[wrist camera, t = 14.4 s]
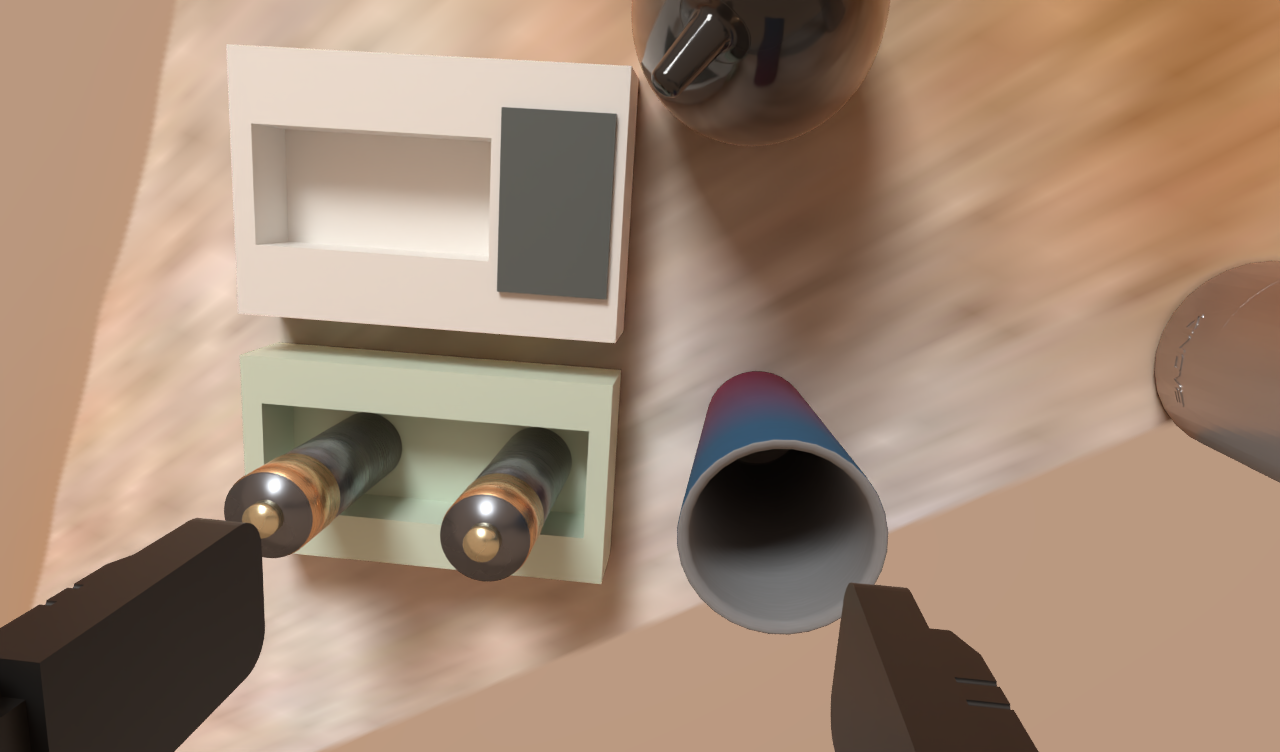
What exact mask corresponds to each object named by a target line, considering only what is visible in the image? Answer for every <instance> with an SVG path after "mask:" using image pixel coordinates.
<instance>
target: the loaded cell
mask: <svg viewBox="0 0 1280 752" xmlns="http://www.w3.org/2000/svg"><path fill="white" fill-rule="evenodd" d="M571 467H572V458H571V453H570V450H569V448H568V446H567V444H566V443H565V441H564V440H563V439H562V438H561V437H560V436H559V435H558V434H556V433H555V432H553V431H551V430H549V429H545V428H541V427H530V428H526V429H523V430H521V431H519V432H517V433H516V434H514V435H513V436H512V437H511V438H510V439H509V441H508V442H507V443H506V444H505V445H504V447H503V448H502V449H501V450H500V451H499V452H498V454H497V455H496V456H495V457H494V458H493V459H492V461H491V462H490V463H489V464H488V465H487V467H486V468H485V469H484V470H483V471H482V472H481V474H480V475H479V476H478V477H477V478H476V479H475V481H473V482H472V483H471V484H470V485H469V486H468V487H467V488H466V489H465V491H464V492H463V493H462V494H461V495H460V496H459V498H458V499H457V500H456V501H455V502H454V503H453V505H452V506H451V507H450V508H449V509H448V511H447V512H446V514H445V516H444V518H443V521H442V525H441V530H440V541H441V546H442V549H443V552H444V554H445V556H446V558H447V559H448V561H449V562H450V563H451V565H452V566H453V567H454V568H455V569H456V570H458V571H459V572H460V573H462V574H464V575H465V576H467V577H470V578H472V579H475V580H479V581H497V580H501V579H504V578H506V577H508V576H510V575H512V574H513V573H515V572H516V571H517V570H519V569H520V568H521V567H522V565H523V564H524V563H525V561H526V560H527V558H528V556H529V554H530V552H531V550H532V548H533V546H534V544H535V542H536V541H537V539H538V537H539V535H540V533H541V530H542V527H543V525H544V523H545V521H546V519H547V517H548V515H549V513H550V511H551V509H552V507H553V505H554V503H555V501H556V500H557V498H558V496H559V494H560V492H561V490H562V488H563V486H564V484H565V482H566V480H567V478H568V476H569V474H570V471H571Z"/></svg>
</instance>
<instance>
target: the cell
mask: <svg viewBox="0 0 1280 752" xmlns="http://www.w3.org/2000/svg"><path fill="white" fill-rule="evenodd" d="M401 454H402V442H401V438H400V435H399V433H398V431H397V430H396V428H395V427H394V426H393V424H392V423H391V422H390V421H388V420H387V419H386V418H384V417H382V416H380V415H378V414H375V413H369V412H361V413H356V414H354V415H351V416H350V417H348V418H346V419H344V420H343V421H341V422H339V423H337V424H336V425H334V426H332V427H331V428H329V429H327V430H325V431H324V432H322V433H320V434H318V435H317V436H315V437H313V438H312V439H310V440H308V441H306V442H305V443H303V444H301V445H300V446H298V447H296V448H294V449H293V450H291V451H289V452H287V453H286V454H284V455H281V456H279V457H276V458H275V459H273V460H271V461H270V462H268V463H266V464H264V465H263V466H261V467H259V468H257V469H256V470H254V471H252V472H250V473H249V474H247V475H245V476H244V477H242V478H241V479H239V480H238V481H237V482H236V483H235V484H234V485H233V487H232V488H231V490H230V491H229V493H228V495H227V497H226V501H225V506H224V514H225V520H226V521H233V522H243V523H251V524H253V525H254V526H255V527H256V528H257V529H258V531H259V534H260V538H261V545H262V557H266V558H280V557H284V556H287V555H290V554H293V553H295V552H296V551H298V550H299V549H301V548H302V547H303V546H304V545H305V544H307V543H308V542H309V541H310V540H311V539H313V538H314V537H315V536H316V535H317V534H319V533H320V532H321V531H322V530H323V529H325V528H326V527H327V526H328V525H329V524H330V523H331V522H332V521H333V520H334V519H335V518H336V517H337V516H338V515H340V514H341V513H342V512H343V511H344V510H346V509H347V508H348V507H349V506H350V505H352V504H353V503H354V502H355V501H357V500H358V499H359V498H360V497H361V496H363V495H364V494H365V493H366V492H367V491H369V490H370V489H371V488H372V487H373V486H375V485H376V484H377V483H378V482H379V481H381V480H382V479H383V478H384V477H385V476H387V475H388V474H389V473H390V472H391V471H393V470H394V469H395V467H396V466H397V465H398V463H399V461H400V458H401Z"/></svg>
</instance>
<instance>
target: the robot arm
mask: <svg viewBox="0 0 1280 752" xmlns="http://www.w3.org/2000/svg"><path fill="white" fill-rule="evenodd" d="M1155 378H1156V385H1157V391H1158V394H1159V396H1160V399H1161V402H1162V404H1163V407H1164V409H1165V410H1166V412H1167V413H1168V415H1169V416H1170V417H1171V419H1172V420H1173V422H1174V423H1175V424H1176V425H1177V426H1178V427H1179V428H1180V429H1182V430H1183V431H1184V432H1185V433H1186V434H1187V435H1188V436H1190V437H1191V438H1193V439H1195V440H1197V441H1199V442H1201V443H1203V444H1204V445H1206V446H1208V447H1211V448H1212V449H1214V450H1216V451H1218V452H1220V453H1222V454H1224V455H1226V456H1228V457H1230V458H1232V459H1235V460H1236V461H1238V462H1240V463H1242V464H1244V465H1246V466H1248V467H1250V468H1252V469H1254V470H1256V471H1258V472H1260V473H1262V474H1264V475H1266V476H1268V477H1270V478H1272V479H1274V480H1276V481H1278V482H1280V262H1279V261H1266V262H1257V263H1249V264H1246V265H1242V266H1239V267H1236V268H1233V269H1230V270H1227V271H1225V272H1223V273H1221V274H1219V275H1217V276H1215V277H1214V278H1212V279H1210V280H1208V281H1206V282H1205V283H1204V284H1202V285H1201V286H1200V287H1199V288H1197V289H1196V290H1195V291H1194V292H1192V293H1191V294H1190V295H1189V296H1188V297H1187V298H1186V299H1185V300H1184V301H1183V302H1182V304H1181V305H1180V306H1179V307H1178V308H1177V309H1176V311H1175V312H1174V313H1173V315H1172V317H1171V318H1170V320H1169V322H1168V324H1167V325H1166V327H1165V329H1164V331H1163V333H1162V336H1161V339H1160V342H1159V345H1158V349H1157V352H1156V362H1155ZM264 633H265V620H264V594H263V569H262V545H261V538H260V534H259V531H258V529H257V528H256V527H255V526H254V525H253V524H251V523H243V522H233V521H223V520H212V519H202V518H195V519H192V520H190V521H188V522H186V523H185V524H183V525H182V526H180V527H178V528H177V529H175V530H173V531H172V532H170V533H168V534H167V535H165V536H164V537H162V538H160V539H159V540H157V541H155V542H154V543H152V544H150V545H149V546H147V547H146V548H144V549H142V550H141V551H139V552H137V553H136V554H134V555H131V556H128V557H126V558H123V559H120V560H117V561H115V562H112V563H109V564H106V565H105V566H103V567H101V568H100V569H98V570H96V571H95V572H93V573H91V574H90V575H88V576H86V577H85V578H83V579H81V580H80V581H78V582H76V583H75V584H74V587H73V588H66V589H65V590H63V591H61V592H60V593H58V594H56V595H55V596H53V597H51V598H50V599H48V600H47V602H46V604H45V605H38V606H36V607H35V608H33V609H31V610H30V611H28V612H26V613H25V614H23V615H21V616H20V617H18V618H16V619H15V620H13V621H11V622H10V623H8V624H6V625H5V626H3V627H1V628H0V752H174V751H175V750H176V749H177V748H178V747H179V746H180V745H181V744H182V743H183V742H184V741H185V740H186V739H187V738H188V737H189V736H190V735H191V734H192V733H193V732H194V731H195V730H196V729H197V728H198V727H199V726H200V725H201V724H202V723H203V722H204V721H205V720H206V719H207V718H208V717H209V715H210V714H211V713H212V712H213V711H214V710H215V709H216V708H217V707H218V706H219V705H220V704H221V703H222V702H223V701H224V700H225V699H226V698H227V697H228V696H229V695H230V694H231V693H232V692H233V691H234V690H235V689H236V688H237V687H238V686H239V685H240V684H241V683H242V682H243V681H244V680H245V679H246V678H247V676H248V675H249V674H250V673H251V671H252V670H253V668H254V666H255V664H256V662H257V660H258V658H259V655H260V652H261V649H262V645H263V640H264ZM831 730H832V739H833V745H834V749H835V752H1038V750H1037V748H1036V747H1035V745H1034V743H1033V742H1032V740H1031V739H1030V737H1029V735H1028V733H1027V732H1026V730H1025V729H1024V727H1023V725H1022V723H1021V722H1020V720H1019V718H1018V717H1017V715H1016V713H1015V712H1014V710H1010V703H1009V702H1008V700H1007V698H1006V697H1005V695H1004V693H1003V691H1002V690H1001V688H1000V687H997V685H996V680H995V678H994V677H993V675H992V673H991V671H990V670H989V668H988V666H987V665H986V663H985V661H984V660H983V658H982V656H981V655H980V654H979V653H978V652H977V651H975V650H974V649H973V648H971V647H970V646H969V645H968V644H966V643H965V642H964V641H963V640H961V639H960V638H959V637H958V636H956V635H955V634H954V633H953V632H951V631H949V630H939V629H929V627H928V625H927V623H926V621H925V619H924V617H923V615H922V613H921V611H920V609H919V607H918V606H917V604H916V602H915V600H914V598H913V596H912V594H911V592H910V590H909V589H908V588H901V587H891V586H881V585H871V584H860V583H849V584H848V586H847V588H846V591H845V595H844V600H843V607H842V615H841V623H840V632H839V639H838V646H837V655H836V663H835V670H834V679H833V686H832V695H831Z"/></svg>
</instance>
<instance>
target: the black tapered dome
mask: <svg viewBox="0 0 1280 752" xmlns="http://www.w3.org/2000/svg"><path fill="white" fill-rule="evenodd" d="M889 7H890V0H632V11H631V17H632V32H633V39H634V44H635V49H636V53H637V56H638V60H639V63H640V65H641V68H642V70H643V73H644V75H645V77H646V79H647V81H648V83H649V85H650V87H651V88H652V90H653V91H654V93H655V94H656V96H657V97H658V99H659V100H660V101H661V103H662V104H663V105H664V106H665V107H666V108H667V109H668V110H669V111H670V112H671V113H672V114H673V115H674V116H675V117H676V118H677V119H678V120H679V121H681V122H682V123H683V124H685V125H686V126H688V127H689V128H691V129H692V130H694V131H696V132H697V133H699V134H701V135H703V136H706V137H708V138H711V139H713V140H716V141H719V142H723V143H727V144H732V145H740V146H764V145H771V144H777V143H781V142H785V141H788V140H791V139H794V138H796V137H799V136H801V135H803V134H805V133H807V132H809V131H811V130H813V129H815V128H816V127H818V126H819V125H821V124H822V123H824V122H825V121H827V120H828V119H829V118H831V117H832V116H833V115H834V114H835V113H836V112H838V111H839V110H840V109H841V108H842V107H843V106H844V105H845V104H846V103H847V101H848V100H849V99H850V98H851V97H852V96H853V94H854V93H855V92H856V91H857V89H858V88H859V86H860V85H861V83H862V82H863V80H864V79H865V77H866V75H867V74H868V72H869V70H870V68H871V66H872V64H873V62H874V60H875V57H876V55H877V52H878V50H879V47H880V44H881V41H882V38H883V34H884V31H885V27H886V23H887V18H888V13H889Z"/></svg>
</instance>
